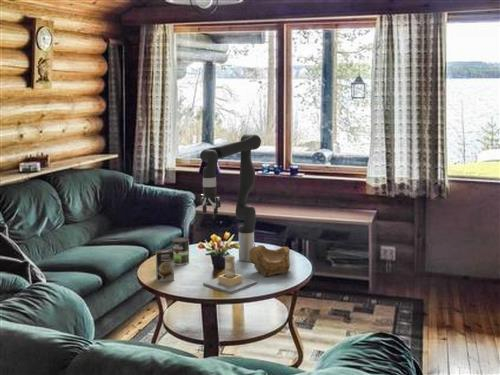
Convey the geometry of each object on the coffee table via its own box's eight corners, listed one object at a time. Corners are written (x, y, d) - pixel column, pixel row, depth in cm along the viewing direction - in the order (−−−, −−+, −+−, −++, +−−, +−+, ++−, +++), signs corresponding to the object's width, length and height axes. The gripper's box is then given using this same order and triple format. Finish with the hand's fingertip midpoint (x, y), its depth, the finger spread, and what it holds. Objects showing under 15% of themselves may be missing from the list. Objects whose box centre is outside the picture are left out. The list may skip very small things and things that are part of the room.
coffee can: (185, 265, 326) (184, 242, 324) (169, 264, 329) (168, 241, 327) (192, 260, 336) (191, 237, 333) (176, 259, 339) (176, 236, 337)
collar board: (229, 275, 309) (229, 267, 308) (257, 283, 296) (257, 274, 295) (203, 285, 294) (203, 276, 293) (231, 293, 281) (231, 285, 280)
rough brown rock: (249, 280, 304) (250, 254, 300) (248, 268, 320) (248, 243, 316) (292, 280, 305) (293, 254, 301) (288, 268, 321) (290, 243, 317)
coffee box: (157, 282, 299) (156, 253, 296) (156, 278, 305) (155, 249, 302) (174, 280, 301) (173, 251, 298) (173, 276, 307) (172, 248, 304)
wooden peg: (229, 279, 298) (229, 254, 296) (236, 281, 295) (236, 256, 292) (223, 282, 294) (223, 256, 292) (230, 284, 291) (230, 258, 289)
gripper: (223, 185, 310) (223, 214, 313) (205, 183, 320) (205, 211, 322) (214, 187, 305) (214, 216, 308) (195, 184, 314) (196, 213, 317)
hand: (210, 213), depth 315 cm, fingers open, 8 cm apart
